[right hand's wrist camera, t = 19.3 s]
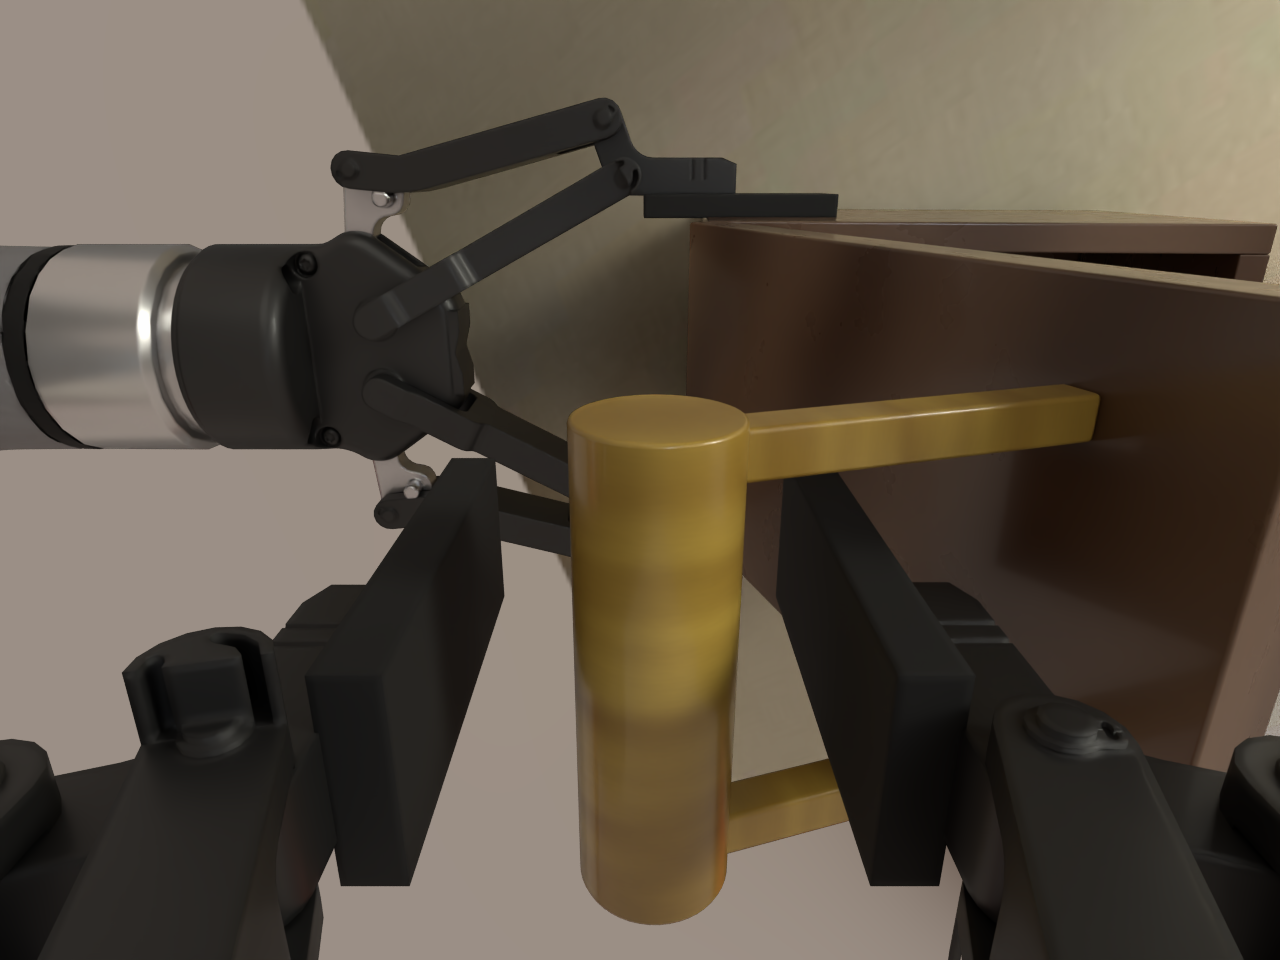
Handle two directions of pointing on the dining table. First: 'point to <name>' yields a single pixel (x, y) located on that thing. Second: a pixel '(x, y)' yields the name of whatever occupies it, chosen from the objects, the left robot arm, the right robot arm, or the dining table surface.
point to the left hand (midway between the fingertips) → (817, 348)
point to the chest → (1063, 236)
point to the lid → (919, 513)
